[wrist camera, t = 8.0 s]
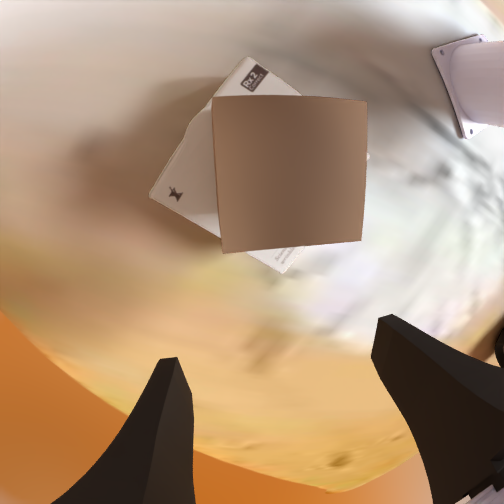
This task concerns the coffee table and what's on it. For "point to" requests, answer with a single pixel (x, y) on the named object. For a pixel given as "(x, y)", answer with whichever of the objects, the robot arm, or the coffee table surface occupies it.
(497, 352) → the portable speaker
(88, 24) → the coffee table surface
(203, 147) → the small box
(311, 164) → the walnut block
